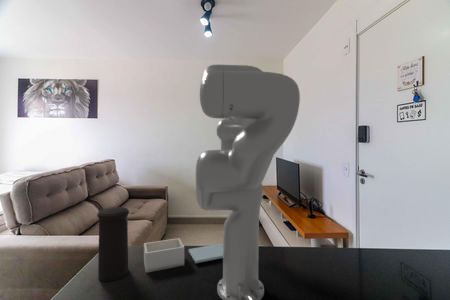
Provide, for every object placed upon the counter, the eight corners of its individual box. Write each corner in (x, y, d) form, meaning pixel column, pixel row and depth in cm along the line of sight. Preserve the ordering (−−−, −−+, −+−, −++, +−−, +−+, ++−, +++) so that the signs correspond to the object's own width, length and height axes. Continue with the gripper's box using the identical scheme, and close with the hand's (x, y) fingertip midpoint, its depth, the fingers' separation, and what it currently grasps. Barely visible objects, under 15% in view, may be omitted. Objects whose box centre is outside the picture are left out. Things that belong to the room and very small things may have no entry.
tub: (184, 265, 77) (184, 247, 77) (145, 272, 72) (145, 253, 72) (179, 254, 84) (179, 238, 84) (143, 260, 80) (143, 243, 80)
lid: (240, 257, 83) (240, 234, 83) (195, 266, 77) (195, 241, 76) (229, 246, 91) (229, 226, 91) (188, 254, 85) (188, 232, 85)
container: (134, 267, 76) (134, 205, 75) (119, 283, 67) (118, 213, 66) (109, 265, 76) (108, 204, 76) (90, 281, 68) (89, 212, 67)
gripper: (252, 156, 79) (251, 207, 79) (231, 155, 95) (230, 197, 95) (231, 157, 76) (231, 209, 76) (213, 155, 92) (213, 198, 92)
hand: (231, 202), depth 86 cm, fingers open, 9 cm apart
